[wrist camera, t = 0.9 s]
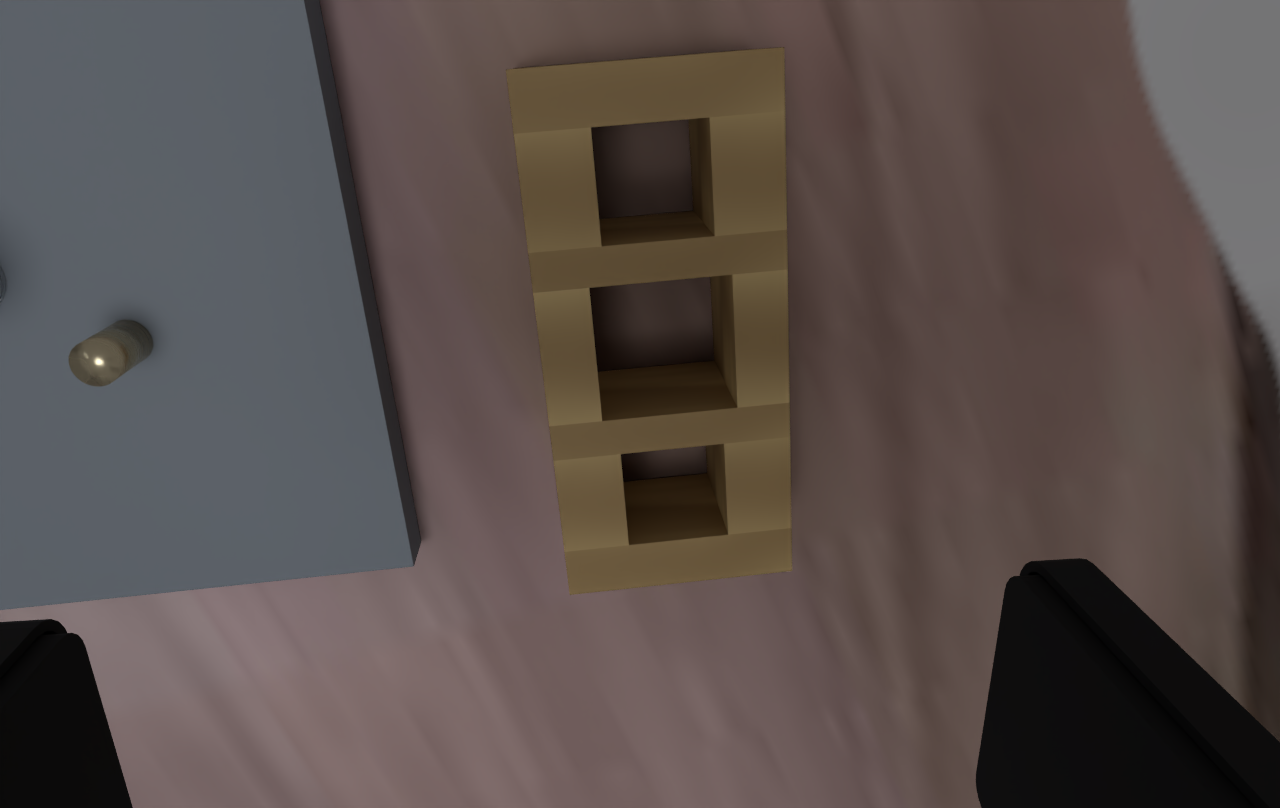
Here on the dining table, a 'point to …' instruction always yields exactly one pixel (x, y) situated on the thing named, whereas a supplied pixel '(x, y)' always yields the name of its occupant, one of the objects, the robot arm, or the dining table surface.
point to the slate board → (186, 307)
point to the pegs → (105, 349)
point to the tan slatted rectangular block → (650, 252)
